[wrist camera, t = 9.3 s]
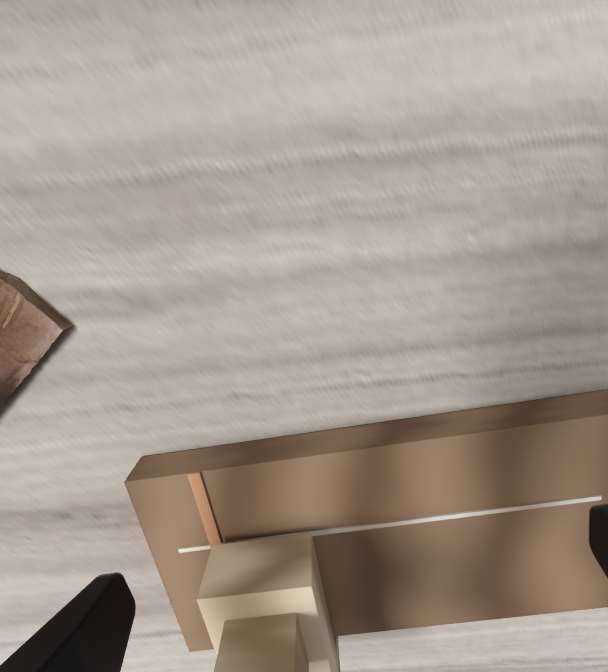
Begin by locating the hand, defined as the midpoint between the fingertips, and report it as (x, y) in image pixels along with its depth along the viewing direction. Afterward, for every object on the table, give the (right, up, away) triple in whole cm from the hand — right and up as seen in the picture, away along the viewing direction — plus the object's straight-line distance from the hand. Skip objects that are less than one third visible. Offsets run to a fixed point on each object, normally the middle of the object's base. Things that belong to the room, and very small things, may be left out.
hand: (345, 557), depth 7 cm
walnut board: (+3, -6, +14) cm, 16 cm away
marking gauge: (-2, -10, +15) cm, 18 cm away
